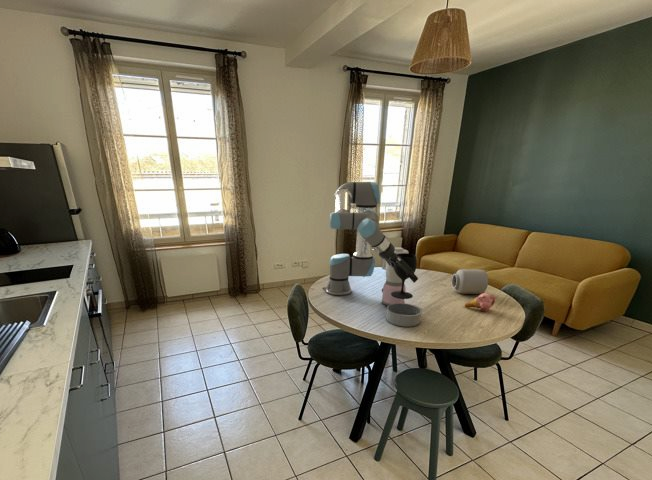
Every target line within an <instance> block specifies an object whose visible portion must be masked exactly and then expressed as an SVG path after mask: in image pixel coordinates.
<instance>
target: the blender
mask: <svg viewBox="0 0 652 480" xmlns="http://www.w3.org/2000/svg"><path fill="white" fill-rule="evenodd" d="M394 247H395V246H394ZM394 253H396V254H401V253H406V254H410V252H409V250H407V249H404V248H403V247H398V246H396V247H395V251H394ZM380 264H381V265H380V268H381V270H384V271H385V281H384V284H383V287H382V288H381V293H382V295H381V297H382V298H381V304H382V305H385V306H389V305H391V304H395V303H405V299H399V298H395V297H393V296H391V293H392V292H395V291H401V288H402V280H401V279H400V278H399V277H398V276H397V275H396V273H395V271H394V267H391V265H388V263H387V262H386V260H385V259H382V258H381V263H380ZM404 292H407V288H406V285H405V283H404Z"/></svg>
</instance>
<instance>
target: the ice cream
mask: <svg viewBox="0 0 652 480" xmlns="http://www.w3.org/2000/svg"><path fill="white" fill-rule="evenodd" d="M495 302H496V297H495V296H494V295H493V294H491V293H488V292H487V293H485V292H484V293H482V294H479V295H478V296H477V297H474V298H473V299H472V300H471V301H468V302H466V303H465V304H464V307H465V308H466V309H469V308H475V309H479V310H480V311H481V312H487V311H488V310H489V309H491V308H492V307H493V306H494V305H495Z"/></svg>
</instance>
